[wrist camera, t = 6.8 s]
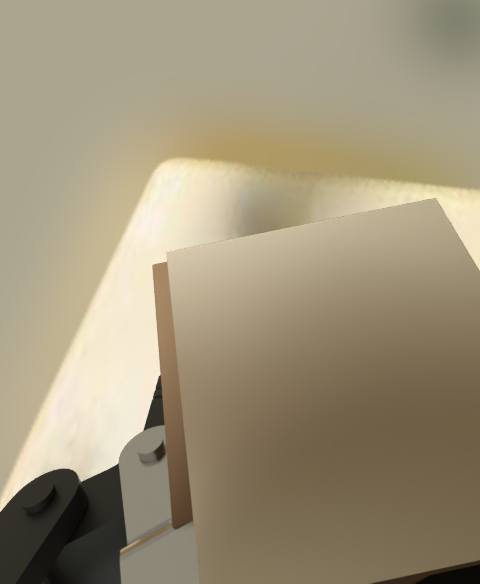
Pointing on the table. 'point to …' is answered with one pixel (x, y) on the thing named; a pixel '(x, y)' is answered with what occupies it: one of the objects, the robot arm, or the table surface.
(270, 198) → the table surface
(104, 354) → the table surface
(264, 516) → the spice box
